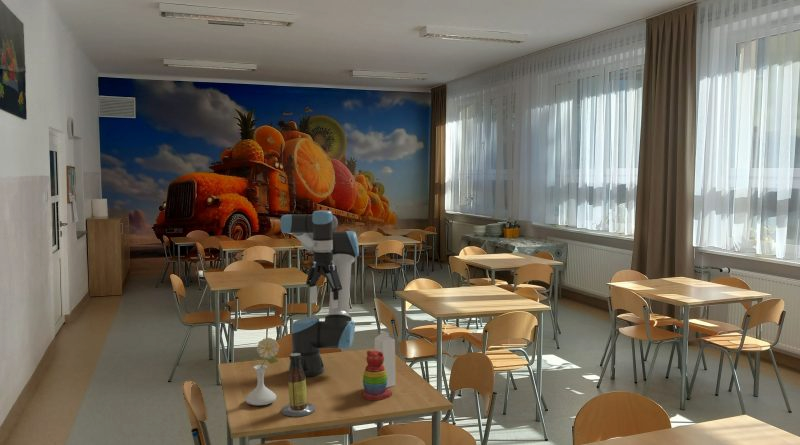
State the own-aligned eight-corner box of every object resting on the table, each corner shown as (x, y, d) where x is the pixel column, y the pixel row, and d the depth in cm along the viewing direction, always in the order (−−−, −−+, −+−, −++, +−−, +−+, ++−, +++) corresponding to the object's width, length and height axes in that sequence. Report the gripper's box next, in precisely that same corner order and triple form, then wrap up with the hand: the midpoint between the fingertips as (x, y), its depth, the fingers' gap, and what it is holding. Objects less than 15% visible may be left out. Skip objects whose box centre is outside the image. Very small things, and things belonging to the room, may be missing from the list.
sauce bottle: (310, 405, 234) (308, 352, 232) (302, 412, 228) (300, 357, 226) (294, 403, 236) (292, 351, 234) (285, 410, 230) (284, 355, 228)
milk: (383, 388, 254) (382, 334, 252) (374, 384, 259) (373, 331, 257) (395, 385, 258) (395, 331, 256) (387, 381, 263) (386, 329, 261)
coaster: (275, 410, 232) (275, 408, 232) (302, 402, 240) (302, 399, 240) (293, 419, 223) (293, 417, 223) (321, 410, 231) (321, 408, 231)
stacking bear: (394, 394, 248) (393, 349, 247) (382, 402, 239) (381, 355, 238) (369, 390, 253) (369, 345, 251) (357, 398, 244) (356, 352, 242)
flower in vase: (241, 408, 235) (239, 341, 233) (250, 397, 246) (248, 333, 244) (276, 408, 234) (275, 341, 232) (284, 397, 245) (282, 333, 243)
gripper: (296, 249, 252) (297, 302, 253) (334, 254, 233) (335, 311, 235) (312, 247, 257) (313, 299, 258) (350, 252, 238) (351, 308, 240)
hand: (324, 305), depth 247 cm, fingers open, 13 cm apart
